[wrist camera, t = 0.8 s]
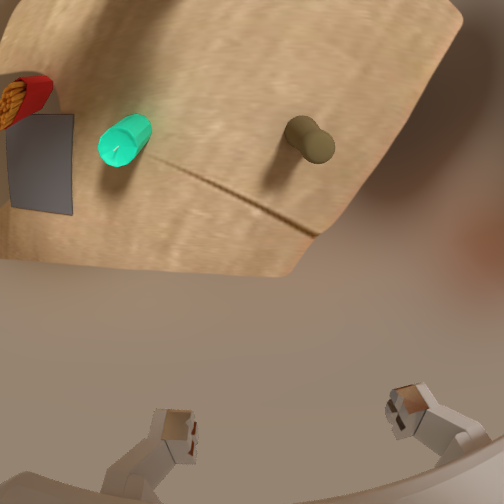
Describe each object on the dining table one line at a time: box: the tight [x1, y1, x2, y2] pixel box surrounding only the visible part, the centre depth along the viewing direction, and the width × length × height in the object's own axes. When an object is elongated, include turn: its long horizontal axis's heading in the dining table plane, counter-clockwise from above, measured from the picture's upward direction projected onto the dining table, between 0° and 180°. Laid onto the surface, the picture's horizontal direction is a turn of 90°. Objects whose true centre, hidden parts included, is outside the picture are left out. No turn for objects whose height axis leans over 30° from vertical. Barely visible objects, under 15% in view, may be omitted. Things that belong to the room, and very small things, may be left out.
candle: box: [98, 114, 152, 167], centre depth 42 cm, size 6×6×12 cm
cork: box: [285, 116, 335, 164], centre depth 46 cm, size 6×6×11 cm
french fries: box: [0, 76, 53, 131], centre depth 34 cm, size 9×4×13 cm, turn 135°
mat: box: [6, 114, 74, 215], centre depth 46 cm, size 20×16×1 cm
